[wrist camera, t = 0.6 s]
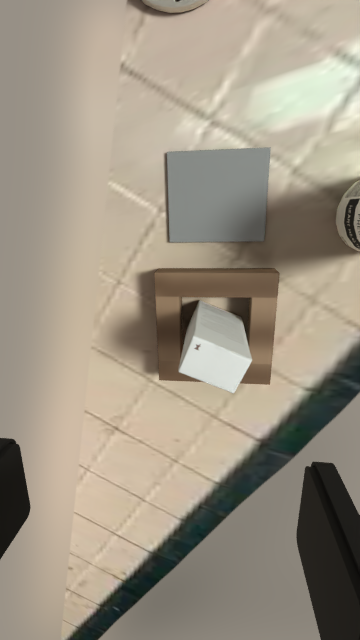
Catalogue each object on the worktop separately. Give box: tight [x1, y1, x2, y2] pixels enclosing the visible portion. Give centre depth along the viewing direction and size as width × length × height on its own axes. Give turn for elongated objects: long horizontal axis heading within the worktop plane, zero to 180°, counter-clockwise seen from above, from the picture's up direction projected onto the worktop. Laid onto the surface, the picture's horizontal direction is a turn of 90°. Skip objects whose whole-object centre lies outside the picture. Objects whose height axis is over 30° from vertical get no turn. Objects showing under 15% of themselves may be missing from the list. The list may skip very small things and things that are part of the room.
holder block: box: [154, 268, 279, 385], centre depth 39 cm, size 14×14×3 cm
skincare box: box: [178, 300, 252, 393], centre depth 35 cm, size 6×4×12 cm
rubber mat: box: [167, 147, 271, 242], centre depth 35 cm, size 10×11×1 cm
